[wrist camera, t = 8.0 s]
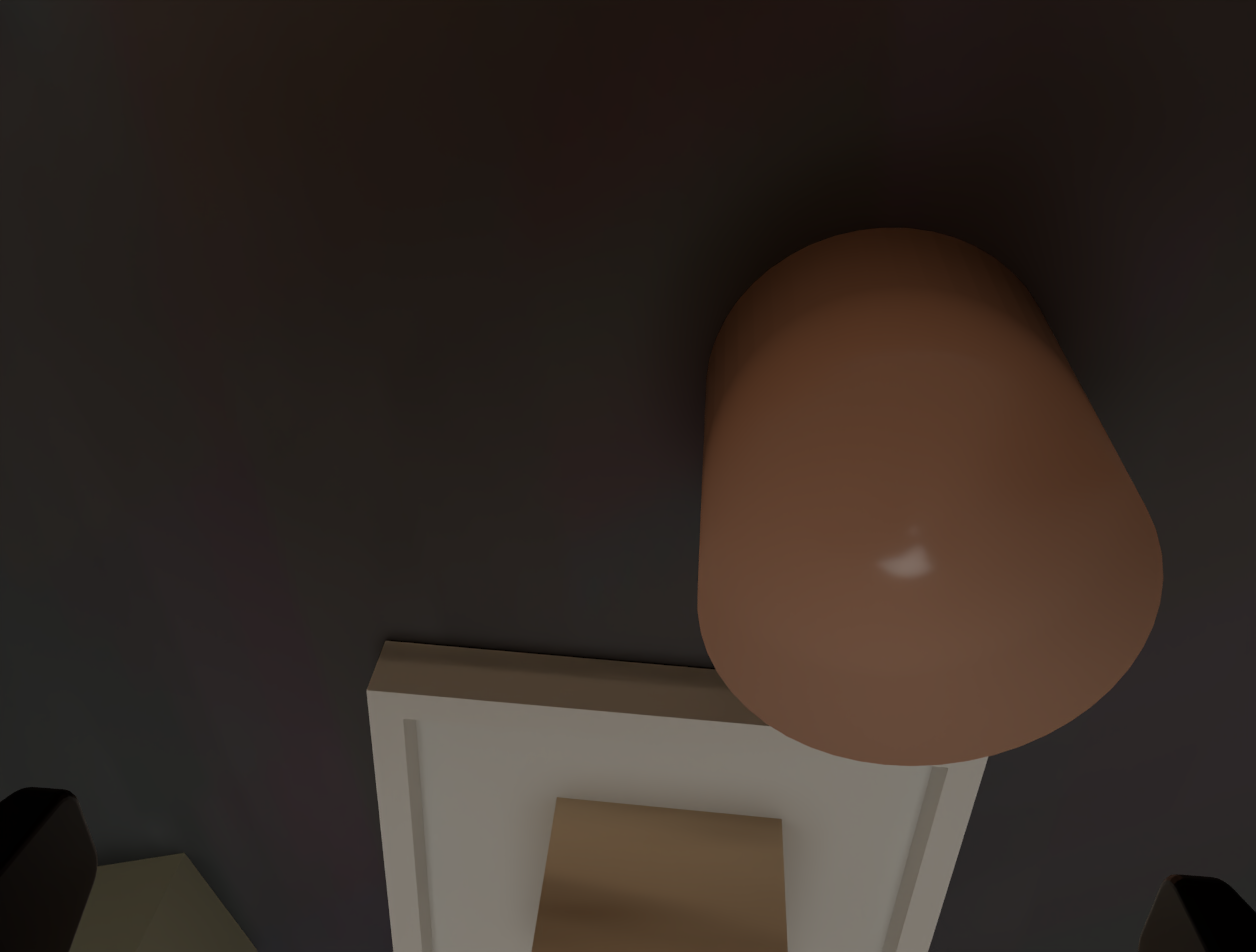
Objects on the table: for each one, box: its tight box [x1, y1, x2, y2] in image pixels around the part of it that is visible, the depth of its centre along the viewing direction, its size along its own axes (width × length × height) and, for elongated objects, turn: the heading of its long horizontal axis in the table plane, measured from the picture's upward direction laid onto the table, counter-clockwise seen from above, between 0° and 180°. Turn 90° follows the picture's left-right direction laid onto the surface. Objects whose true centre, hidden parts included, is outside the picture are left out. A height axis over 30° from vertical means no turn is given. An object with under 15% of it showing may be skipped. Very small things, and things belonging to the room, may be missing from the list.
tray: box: [366, 641, 988, 952], centre depth 27 cm, size 12×12×2 cm
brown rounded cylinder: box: [697, 228, 1163, 766], centre depth 18 cm, size 6×6×6 cm
